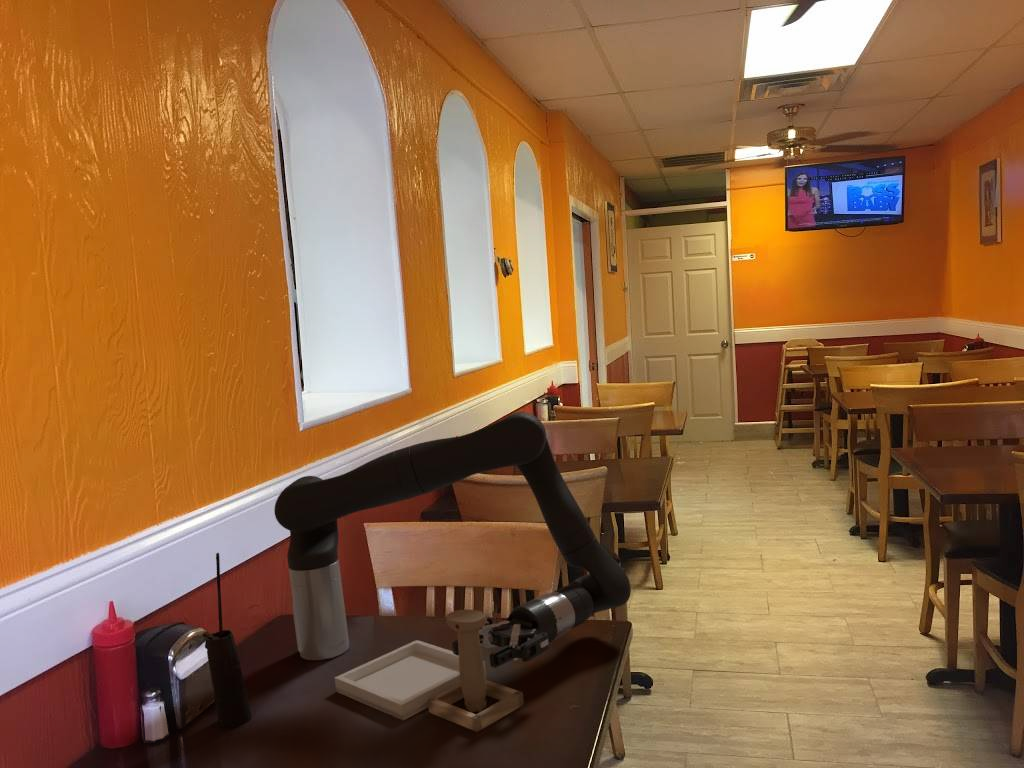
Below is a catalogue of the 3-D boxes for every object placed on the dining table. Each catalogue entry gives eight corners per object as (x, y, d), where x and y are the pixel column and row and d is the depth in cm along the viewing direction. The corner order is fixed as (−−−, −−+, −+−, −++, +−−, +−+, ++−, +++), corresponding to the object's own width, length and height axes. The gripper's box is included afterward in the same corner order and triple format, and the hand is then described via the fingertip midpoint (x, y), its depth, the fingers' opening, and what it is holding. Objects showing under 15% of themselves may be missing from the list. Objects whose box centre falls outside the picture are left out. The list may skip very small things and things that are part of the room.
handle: (484, 719, 131) (473, 624, 129) (450, 711, 134) (439, 618, 133) (501, 705, 135) (491, 612, 133) (468, 698, 138) (458, 607, 137)
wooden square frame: (429, 712, 135) (427, 700, 135) (475, 687, 142) (474, 675, 142) (477, 732, 127) (475, 719, 127) (523, 704, 134) (522, 692, 134)
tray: (336, 691, 146) (334, 677, 145) (418, 653, 158) (417, 639, 158) (403, 720, 133) (401, 705, 133) (486, 676, 146) (484, 661, 146)
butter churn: (185, 729, 138) (160, 558, 135) (232, 702, 146) (210, 541, 143) (223, 739, 133) (198, 563, 130) (270, 711, 141) (247, 544, 138)
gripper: (509, 591, 150) (439, 623, 139) (572, 606, 140) (502, 641, 129) (514, 633, 151) (444, 668, 139) (576, 650, 141) (507, 689, 129)
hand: (472, 655), depth 134 cm, fingers open, 8 cm apart
